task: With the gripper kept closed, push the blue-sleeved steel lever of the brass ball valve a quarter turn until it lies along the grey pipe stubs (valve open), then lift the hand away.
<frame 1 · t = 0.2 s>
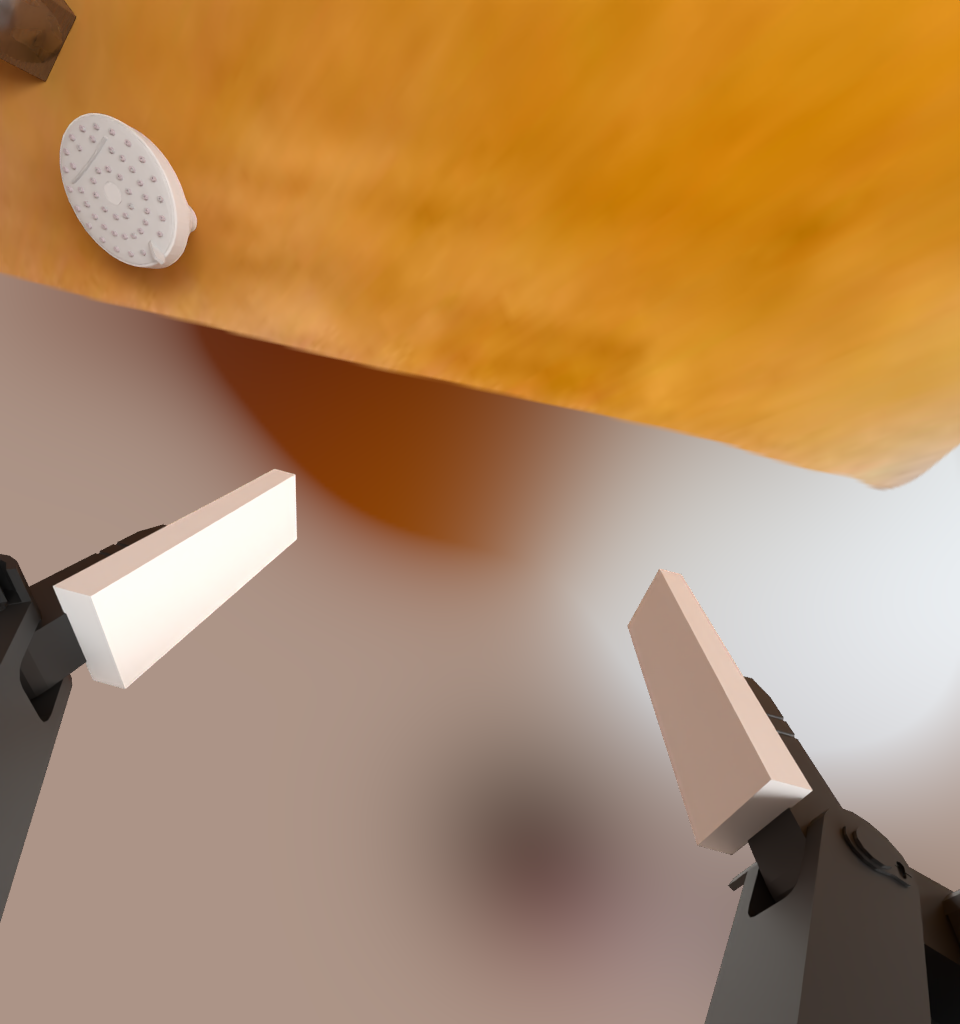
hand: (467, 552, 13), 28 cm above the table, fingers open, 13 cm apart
pipe in: (26, 6, 29), on the table
showerhead: (190, 221, 34), on the table
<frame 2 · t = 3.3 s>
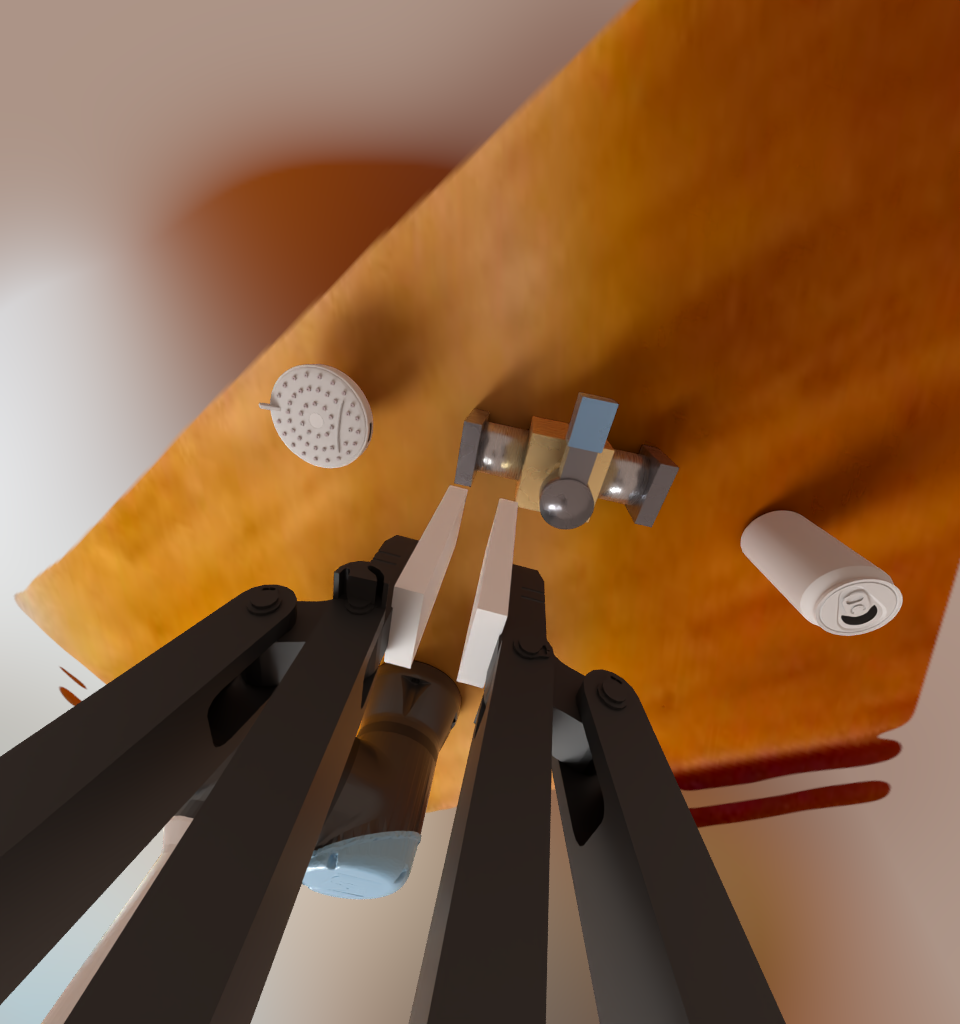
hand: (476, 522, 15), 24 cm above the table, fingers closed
pipe in: (497, 442, 38), on the table
showerhead: (347, 406, 39), on the table
valve: (557, 455, 38), on the table
lever: (576, 464, 27), point 11 cm above the table, hinge at 90.0°
pipe out: (618, 469, 38), on the table
beverage can: (769, 532, 39), on the table
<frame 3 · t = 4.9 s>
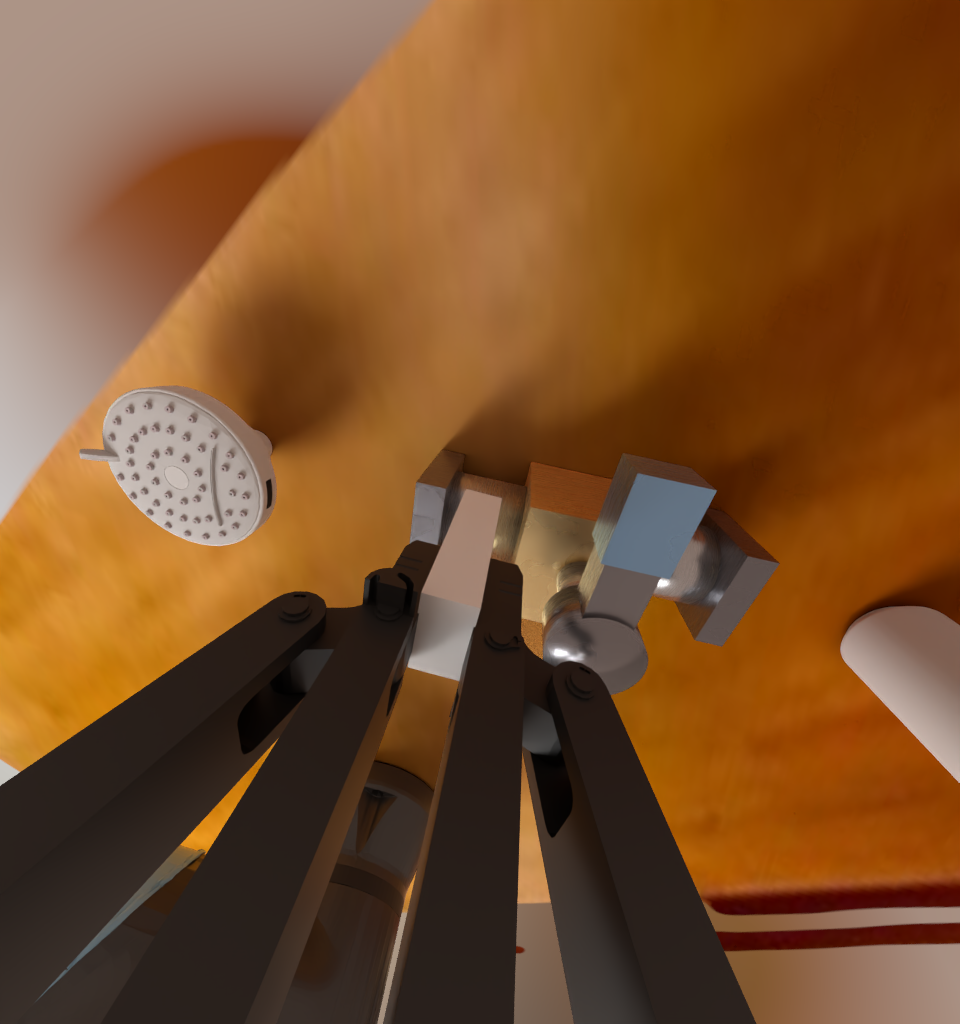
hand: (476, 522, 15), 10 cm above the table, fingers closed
pipe in: (477, 498, 26), on the table
showerhead: (256, 442, 26), on the table
valve: (568, 518, 25), on the table
lever: (613, 586, 14), point 11 cm above the table, hinge at 90.0°
pipe out: (660, 539, 25), on the table
beverage can: (882, 631, 26), on the table
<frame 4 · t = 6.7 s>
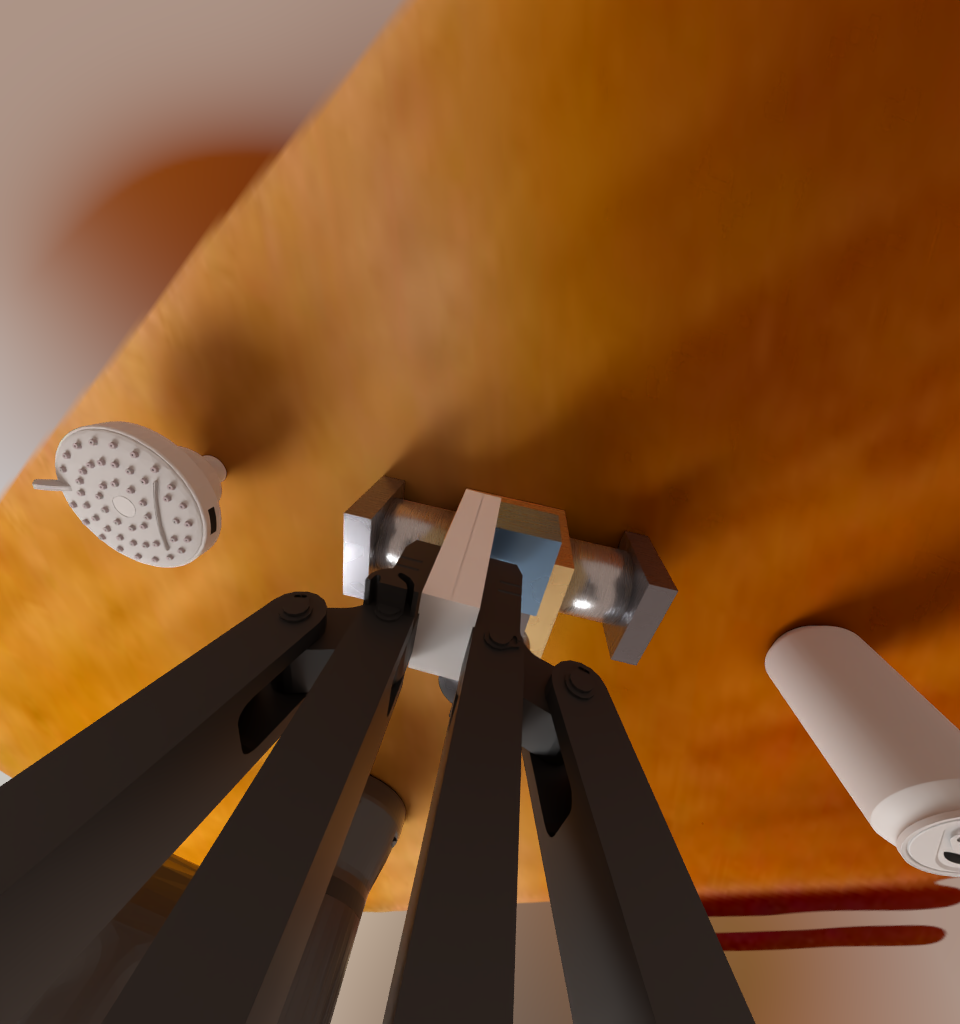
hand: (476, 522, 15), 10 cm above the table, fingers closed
pipe in: (419, 521, 27), on the table
showerhead: (211, 467, 28), on the table
valve: (504, 541, 27), on the table
lever: (499, 618, 16), point 11 cm above the table, hinge at 89.8°, touching gripper
pipe out: (591, 561, 27), on the table
beverage can: (804, 648, 28), on the table
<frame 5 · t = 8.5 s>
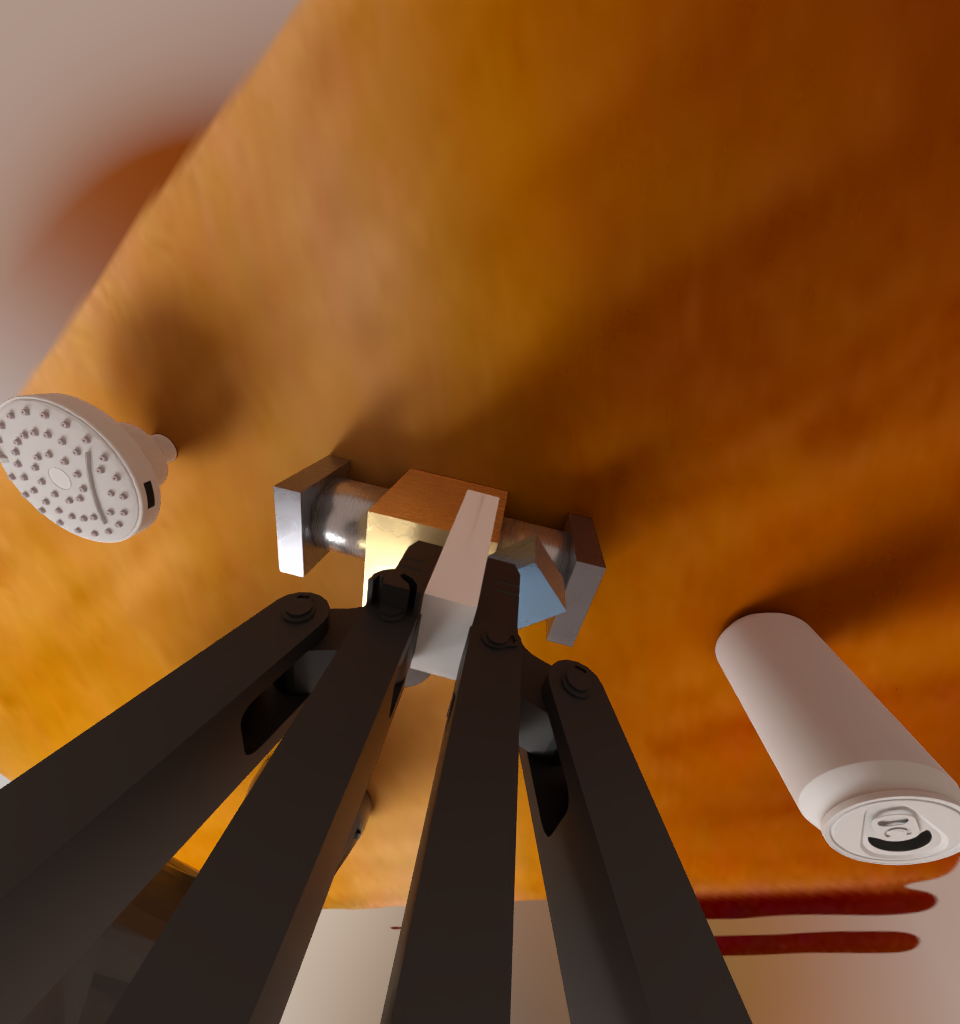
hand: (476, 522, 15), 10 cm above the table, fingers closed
pipe in: (367, 502, 27), on the table
showerhead: (162, 446, 28), on the table
valve: (451, 523, 27), on the table
lever: (448, 613, 16), point 11 cm above the table, hinge at 43.7°, touching gripper
pipe out: (537, 544, 26), on the table
beverage can: (756, 637, 27), on the table
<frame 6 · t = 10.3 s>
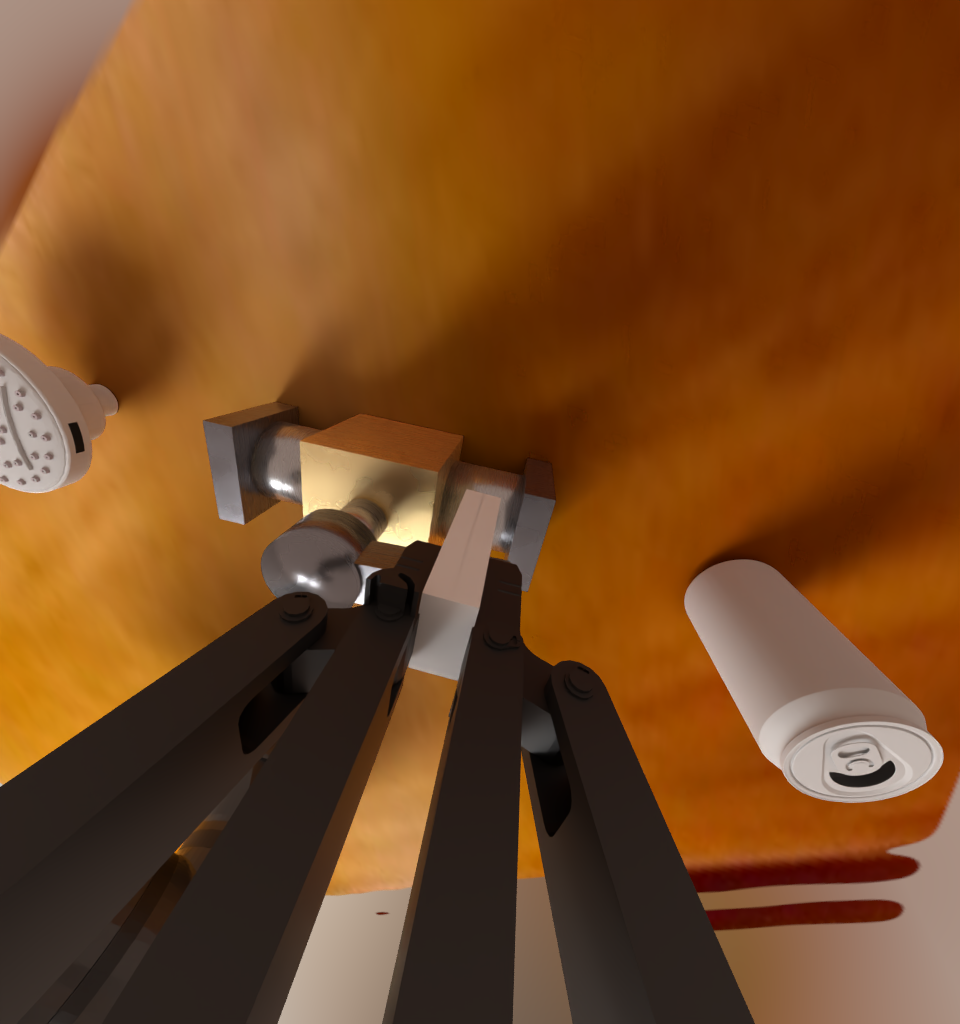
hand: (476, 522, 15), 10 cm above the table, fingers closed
pipe in: (318, 453, 26), on the table
showerhead: (102, 398, 26), on the table
valve: (407, 473, 25), on the table
lever: (390, 576, 15), point 11 cm above the table, hinge at 2.7°, touching gripper
pipe out: (497, 493, 25), on the table
beverage can: (726, 588, 26), on the table
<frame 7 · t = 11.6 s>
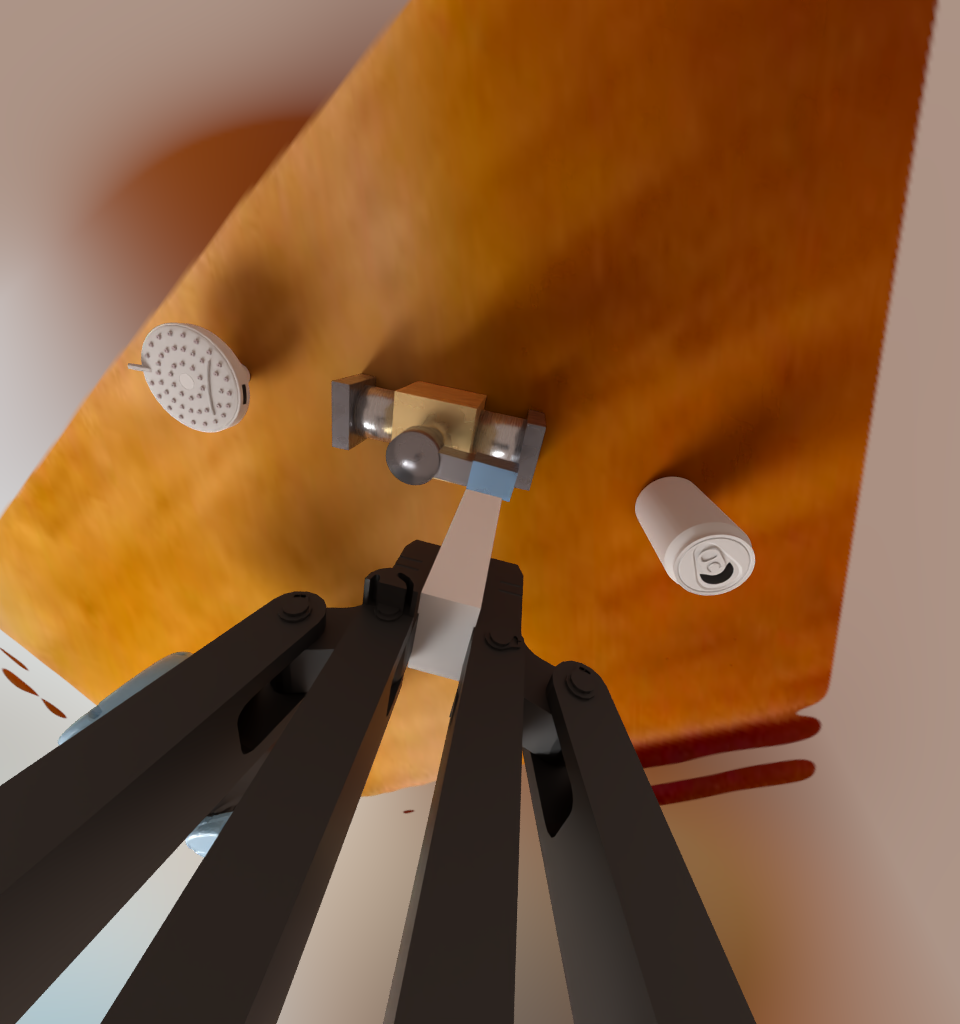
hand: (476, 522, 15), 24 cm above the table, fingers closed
pipe in: (387, 409, 38), on the table
showerhead: (239, 372, 39), on the table
valve: (447, 422, 38), on the table
lever: (452, 465, 28), point 11 cm above the table, hinge at -3.4°
pipe out: (508, 435, 38), on the table
beverage can: (664, 501, 39), on the table
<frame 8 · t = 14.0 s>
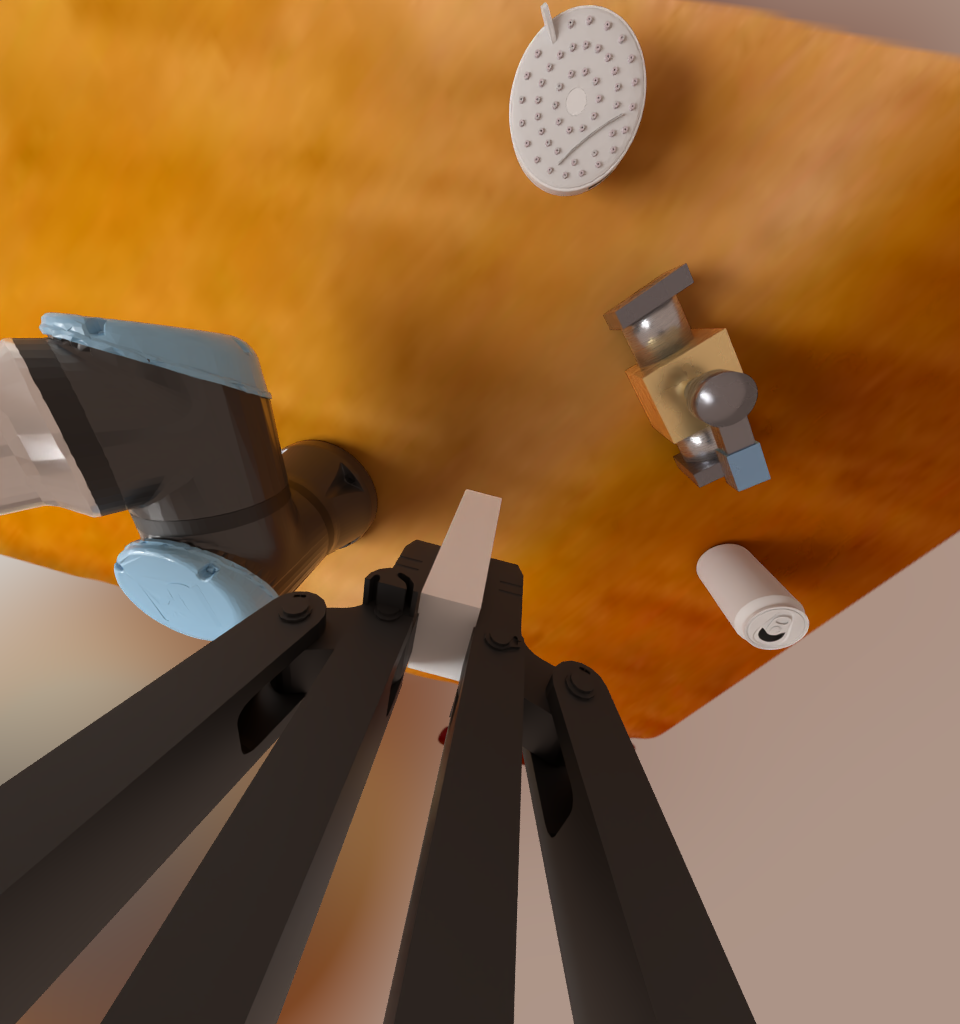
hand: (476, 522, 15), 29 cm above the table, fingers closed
pipe in: (645, 323, 36), on the table
showerhead: (566, 143, 31), on the table
valve: (671, 380, 38), on the table
lever: (730, 430, 29), point 11 cm above the table, hinge at -3.4°
pipe out: (695, 432, 40), on the table
beverage can: (720, 560, 47), on the table
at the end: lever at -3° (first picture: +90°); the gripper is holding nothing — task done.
